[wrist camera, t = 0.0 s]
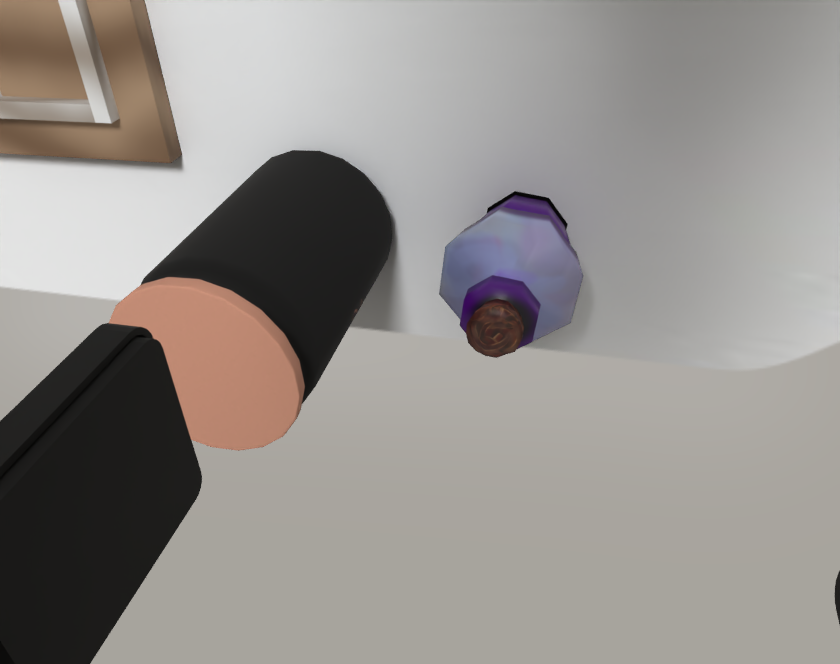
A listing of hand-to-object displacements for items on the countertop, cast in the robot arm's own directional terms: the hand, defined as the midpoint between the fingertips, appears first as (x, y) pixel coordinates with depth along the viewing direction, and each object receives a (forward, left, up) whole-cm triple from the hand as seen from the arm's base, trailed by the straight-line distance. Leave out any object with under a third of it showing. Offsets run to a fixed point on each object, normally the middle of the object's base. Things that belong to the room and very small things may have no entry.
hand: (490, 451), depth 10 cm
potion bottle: (+16, -4, -37) cm, 41 cm away
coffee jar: (+16, -18, -37) cm, 44 cm away
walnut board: (+4, -36, -37) cm, 52 cm away
